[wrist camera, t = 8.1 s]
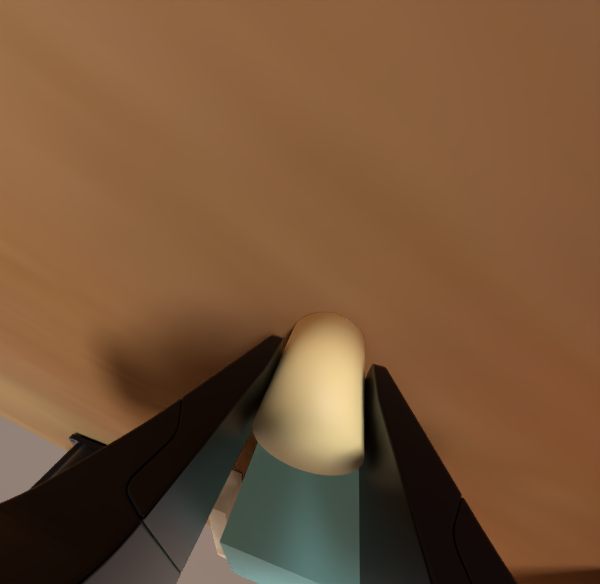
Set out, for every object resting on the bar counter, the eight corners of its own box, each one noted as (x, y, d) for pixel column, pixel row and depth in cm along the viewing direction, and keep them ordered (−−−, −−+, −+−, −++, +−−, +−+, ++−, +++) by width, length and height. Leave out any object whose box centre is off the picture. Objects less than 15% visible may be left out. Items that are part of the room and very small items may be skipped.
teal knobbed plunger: (265, 471, 17) (232, 572, 13) (257, 298, 9) (165, 417, 5) (345, 498, 16) (337, 618, 12) (416, 329, 8) (470, 515, 4)
